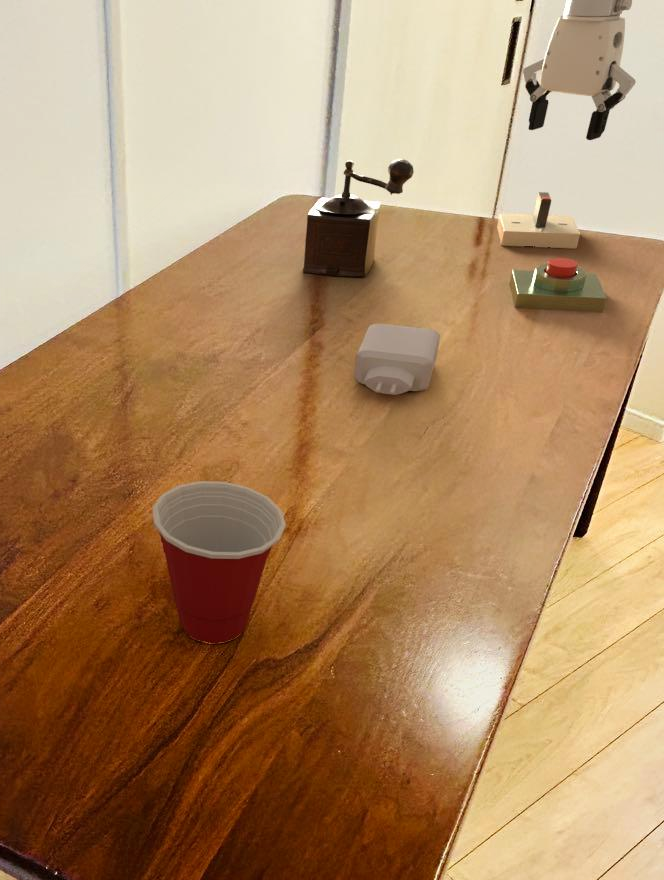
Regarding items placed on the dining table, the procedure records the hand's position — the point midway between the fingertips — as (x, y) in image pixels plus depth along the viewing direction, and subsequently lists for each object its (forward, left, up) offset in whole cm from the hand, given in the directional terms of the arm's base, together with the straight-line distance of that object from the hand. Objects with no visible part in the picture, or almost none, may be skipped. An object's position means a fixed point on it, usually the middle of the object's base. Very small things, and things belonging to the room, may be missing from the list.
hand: (563, 133), depth 140 cm
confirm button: (-1, +20, -15) cm, 25 cm away
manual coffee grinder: (+29, +11, -19) cm, 37 cm away
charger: (+22, +53, -19) cm, 61 cm away
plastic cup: (+36, +103, -19) cm, 111 cm away
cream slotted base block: (-1, -8, -19) cm, 20 cm away
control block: (-1, +20, -19) cm, 27 cm away
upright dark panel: (-1, -8, -16) cm, 18 cm away
